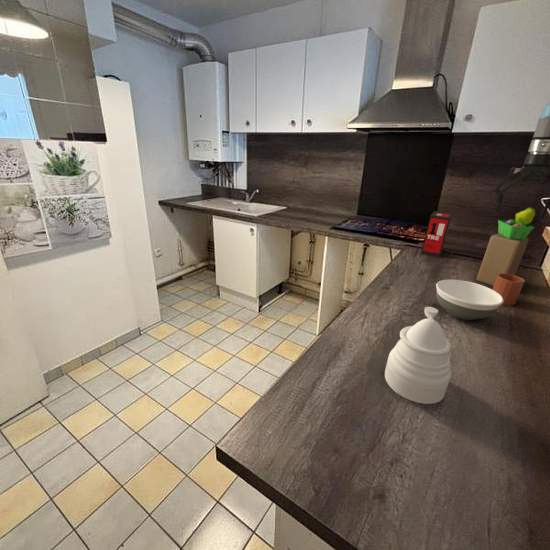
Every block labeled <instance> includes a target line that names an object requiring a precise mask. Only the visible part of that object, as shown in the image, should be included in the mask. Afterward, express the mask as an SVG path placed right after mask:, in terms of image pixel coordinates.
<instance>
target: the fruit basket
mask: <svg viewBox="0 0 550 550" xmlns="http://www.w3.org/2000/svg"><path fill="white" fill-rule="evenodd" d="M534 217H536V209H535V208H533V207H527V208H525V209H524V210H521V211H519V212H517V213H515V218H514V219H512V218H510V219H509V220H505V219H498V220H497V223H498V233H500V234H501V235H504V236H505V237H507V238H509V239H521V240H524V239H525V238H526V237H527V238H528V235H530V233H531V232H532V231H533V230H534V228H535V227H534V226H532V225H529V224H531V223H532V222H533V221H534ZM498 233H497V234H498Z"/></svg>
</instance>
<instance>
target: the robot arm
mask: <svg viewBox="0 0 550 550" xmlns="http://www.w3.org/2000/svg"><path fill="white" fill-rule="evenodd" d="M527 152H528V154H526V156H525V158H524V162H523V164H522V167H521V168H519V167H515V166H513V167H511V169H510V171H509V172H508V174H507V175H506V176H505V177H504V178H503V179H502V180H501V181H500V182H499V184H497V185H496V187H495V188H494V189H493V190H492V191H493V193H495V194H497V196H496V199H495V203H496V204H497V207H496V211H495V212H496V213H499V212H500V210H501V206H502V203H503V200H504V198H505V197H504V196H505V194H504V193H506V192H507V191H508V190H510V189H511V188H513V187H514V186H516V185H517V184H519V183H520V182H522V181H524V182H534V183H537V182H541V184H542V185H543V187H544V189H545V190H546V192H547V193H548V196H550V184H549V182H547V180H546V179H545V178H546V177H547V176H548V175H550V103H547V104H545V105H544V107H543V108H542V110H541V113H540V114H539V117H538V119H537V123H536V127H535V130H534V133H533V136H532V139H531V141H530V144H529V147H528V150H527ZM518 172H519V175H520V176H519V177H518V178H517V179H514V180H513V181H512V182H511V183H509V184H508V185H506V186H505V187H504V188H502V187H503V186H504V184H506V182H507V181H509V179H510V178H512V176H513V175H515V174H517V173H518ZM501 188H502V189H501ZM548 209H550V198H547V200H546V203H545V205H544V208H543V210H542V213H541V215H540V217H541V218H542V219H543V218H545V217H546V214H547V212H548Z"/></svg>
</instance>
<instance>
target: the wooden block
mask: <svg viewBox="0 0 550 550" xmlns="http://www.w3.org/2000/svg"><path fill="white" fill-rule="evenodd" d="M528 243H529V238H528V236H527V237H526V238H525V239H524V240H521V239H509V238H507V237H505V236H504V235H501V234H500V233H495V234H492V235H491V236H490V237H489V241H488V243H487V245H486V250H485V253H484V256H483V259H482V260H481V264H480V267H479V270H478V273H477V276H476V281H477V282H480V283H482V284H486V285H489V286H492V287H493V286H494V283H495V280H496V277H497V275H498V274H500V273H505V274H511V275H515V276H516V274H517V272H518V269H519V266H520V264H521V262H522V259H523V256H524V253H525V251H526V249H527V246H528Z"/></svg>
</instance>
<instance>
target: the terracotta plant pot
mask: <svg viewBox="0 0 550 550" xmlns="http://www.w3.org/2000/svg"><path fill="white" fill-rule="evenodd" d="M525 282H526V281H525V278H523V277H522V276H521V277H520V276H518V275H516V274H515V275H511V274H505V273H500V274H498V275H497V277H496V280H495V283H494V286H492V288H491V289H492V290H494V291H496V292H497V293H498V294H500V295H501V296H502V298H503V303H502V304H501V305H506V306H513V305H516V303H517V301H518V298H519V296H520V293H521V291H522V289H523V287H524V284H525Z"/></svg>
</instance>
